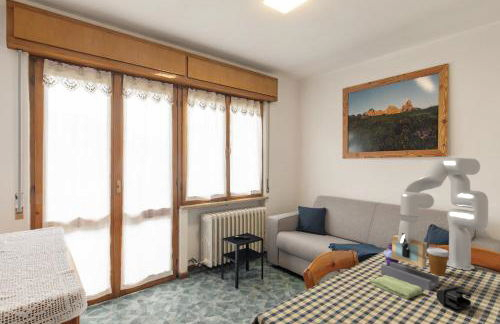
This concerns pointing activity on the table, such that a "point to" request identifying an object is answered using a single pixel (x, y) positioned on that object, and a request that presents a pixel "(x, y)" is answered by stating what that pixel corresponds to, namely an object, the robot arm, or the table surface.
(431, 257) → the disposable coffee cup
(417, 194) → the robot arm
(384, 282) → the washcloth
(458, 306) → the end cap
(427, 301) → the table surface
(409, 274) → the picture stand
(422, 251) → the wooden picture frame
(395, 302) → the table surface
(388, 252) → the potion bottle
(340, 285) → the table surface
